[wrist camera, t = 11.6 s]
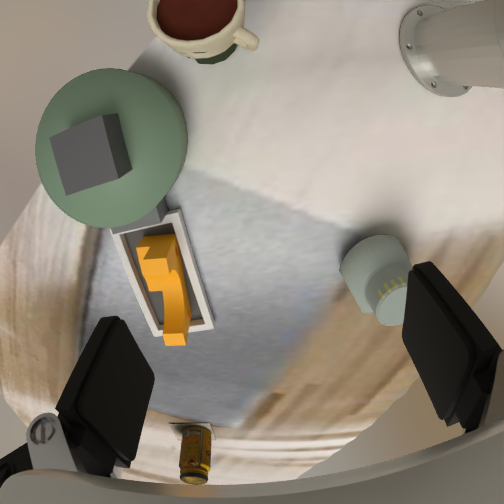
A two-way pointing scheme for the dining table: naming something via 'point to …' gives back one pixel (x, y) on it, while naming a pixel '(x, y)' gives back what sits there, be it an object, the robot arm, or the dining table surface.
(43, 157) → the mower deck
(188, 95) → the dining table surface
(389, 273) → the air freshener
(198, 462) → the condiment
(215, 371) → the dining table surface
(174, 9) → the character mug
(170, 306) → the pipe clamp
